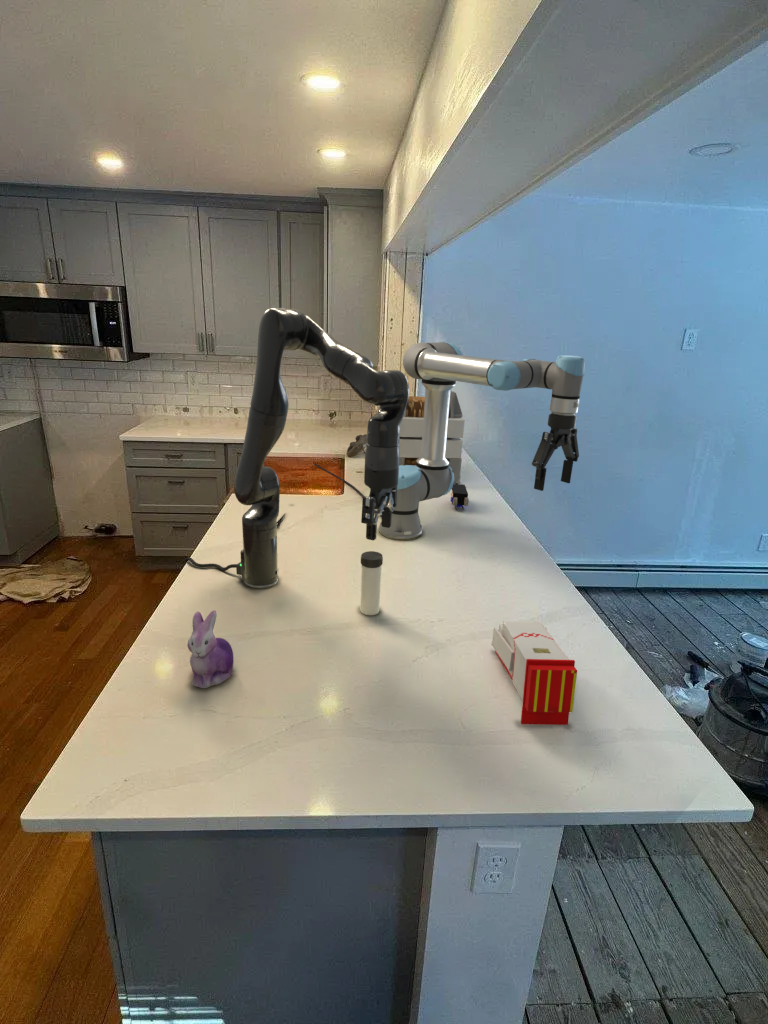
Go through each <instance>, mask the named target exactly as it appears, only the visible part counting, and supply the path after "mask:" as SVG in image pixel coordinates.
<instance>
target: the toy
mask: <svg viewBox="0 0 768 1024" xmlns="http://www.w3.org/2000/svg"><path fill="white" fill-rule="evenodd" d="M491 646H492V647H493V649H494V652H495V654H496V656H497V657H498V659H499V661H500V662H501V664H502V666H503V668H504V669H505V671H506V672H507V675H508V676H509V678H510V679H511V681H512V684H513V685H514V687H515V689H516V691H517V693H518V695H519V697H520V699H521V702H522V703H521V715H520V725H537V726H538V725H539V726H541V725H543V726H568V725H569V719H570V713H573V712H574V703H575V694H576V685H577V678H578V677H577V676H578V669H577V668H576V667H575V664H576V660H575V659H569V657H568V656H567V655H566V653H565V651H563V650H562V648H561V647H560V646H559V644H558V643H557V642H556V640H555V639H554V637H553V636H552V635H551V633H550V632H549V631H548V629H547V628H546V627H545V625H544V624H543V622H541V621H502V623H499V624H498V628H497V627H493V630H492V640H491Z"/></svg>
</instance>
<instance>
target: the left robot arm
mask: <svg viewBox="0 0 768 1024" xmlns="http://www.w3.org/2000/svg"><path fill="white" fill-rule="evenodd" d="M256 350H257V351H256V352H257V353H256V365H255V374H254V382H253V389H252V394H251V399H250V404H249V409H248V416H247V425H246V430H245V436H244V441H243V445H242V450H241V454H240V458H239V461H238V465H237V469H236V471H235V475H234V480H233V490H234V491H233V492H234V496H235V498H236V500H237V501H238V502H239V504H241V505H244V506H250V507H249V508H248V509H247V511H245V513H243V515H242V517H241V526H242V549H241V550H240V553H239V554H240V562H238V563H234V564H232V563H231V564H228V565H226V566H225V567H223V566H222V565H220V564H218V563H198V562H196V561H195V560H194V559H193V558H192V557H189V556H188V557H186V558H184V560H183V561H184V562H186V563H187V562H190V563H191V565H193V566H194V567H196V568H197V567H198V568H216V569H218V570H219V571H223V572H227V571H229V570H230V569H236V575H238V576H241V582H242V583H244V584H245V585H246V586H247V587H249V588H252V589H266V588H267V589H268V588H271V587H273V586H275V585H276V584H277V583H278V582H279V567H278V531H277V530H278V528H277V524H278V523H277V522H278V517H279V514H280V499H281V498H280V496H281V487H280V480H279V477H278V474H277V472H276V471H275V470H274V469H273V468H272V467H270V466H268V465H264V463H265V462H266V459H267V457H268V455H269V454H270V452H271V451H272V449H273V448H274V447H275V445H276V444H277V443H278V441H279V439H280V437H281V436H282V434H283V432H284V429H285V427H286V426H285V425H286V422H287V417H288V414H289V413H288V412H289V407H290V405H289V398H288V394H287V392H286V389H285V386H284V383H283V380H282V377H281V367H282V359H283V354H284V351H296V350H301V351H304V352H307V353H309V354H312V355H314V356H315V357H317V358H318V359H319V360H320V362H321V364H322V366H323V367H324V369H325V370H326V371H327V372H328V373H330V375H332V376H333V377H335V378H336V379H338V380H339V381H341V382H343V383H345V384H346V385H348V386H350V388H351V389H352V390H353V391H354V392H355V393H356V395H357V396H358V397H359V398H360V399H361V400H362V401H364V402H365V403H367V404H369V405H372V406H374V407H378V410H377V412H376V413H375V414H374V415H372V416H371V417H370V418H369V419H368V421H367V427H366V428H367V429H366V434H367V446H366V448H365V453H364V473H363V474H364V475H363V484H364V485H365V486H366V487H368V488H369V490H370V491H369V494H368V496H365V495H364V497H362V504H361V505H362V506H361V519H360V523H361V524H366V525H365V526H366V527H365V538H366V540H369V541H375V540H377V535H378V534H377V530H378V521H379V517H381V515H382V517H381V522H382V524H381V525H382V527H386V528H390V527H391V521H392V512H393V510H394V508H393V507H396V506H397V485H398V477H399V459H400V452H399V439H400V424H401V421H402V419H403V416H404V412H405V409H406V405H407V401H408V397H409V396H410V383H409V380H408V378H407V376H406V374H405V373H404V372H402V371H401V370H398V369H387V370H376V369H374V364H373V362H372V360H371V359H370V358H368V357H367V356H365V355H364V354H362V353H360V352H359V351H357V350H355V349H353V348H351V347H349V346H348V345H346V344H344V343H343V342H341V341H339V340H338V339H336V338H335V337H334V336H332V335H331V334H330V333H328V332H327V331H326V330H325V329H324V328H322V326H320V325H319V324H318V323H317V322H316V321H314V319H312V318H311V317H310V316H309V315H307V314H306V313H305V312H304V311H302V310H299V309H297V308H288V307H287V308H286V307H271V308H268V309H266V310H265V311H264V313H263V314H262V316H261V319H260V322H259V327H258V337H257V349H256ZM392 498H393V499H392Z"/></svg>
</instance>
